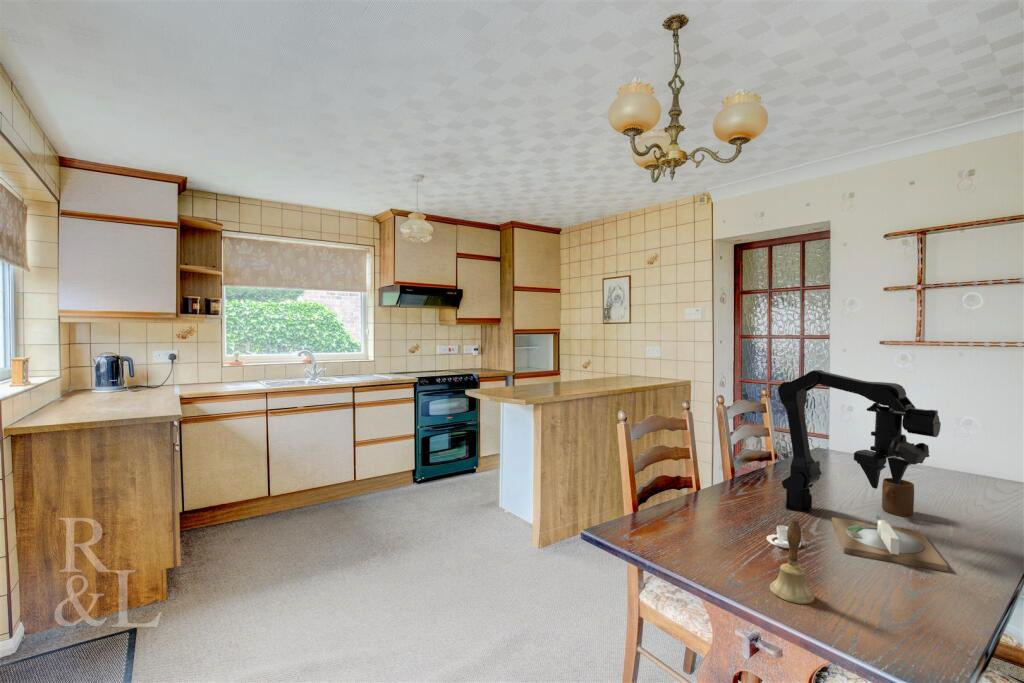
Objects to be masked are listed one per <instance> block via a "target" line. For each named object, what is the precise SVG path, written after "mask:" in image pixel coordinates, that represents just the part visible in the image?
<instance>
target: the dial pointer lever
mask: <svg viewBox="0 0 1024 683" xmlns="http://www.w3.org/2000/svg"><path fill="white" fill-rule="evenodd" d="M875 516H876V519H877V524H878V526H877V537H878V538H880V539H882V540H883V542H884V544H885V545H886V547H887V549H888V550H889V552H890V553H891V554H897V555H899V538H898V537H897V535H896V534H895V532H894V531H893V529H892V528H891V522H890V521H888V520H885V519H882V518H881V516H880V515H875Z"/></svg>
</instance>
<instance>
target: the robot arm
mask: <svg viewBox="0 0 1024 683" xmlns="http://www.w3.org/2000/svg"><path fill="white" fill-rule="evenodd" d="M818 385H820V386H824V387H828V388H831V389H836V390H840V391H844V392H848V393H853V394H855V395H859V396H861V397H864V398H865V399H867V400H869V401H870V402H873V404H872V405H871V406H869V407H867V408H866V411H867V412H874V413H875V422H874V425H875V426H874V431H871V432H870V436H872V437H874V442H873V443H874V445H871V446H870V448H869V450H868V449H860V450H857V451H855V452H854V453H853V461H855V462H857V464H858V465H859V466H860V467H861V469H862V471H863V473H864V475H865V477H866V478H867V480H868V482H869V484H870V486H871V488H873V489H876V490H877V489H878V486H879V481H880V476H881V471H882V470H884V469H885V468H886V467H887V465H886V463H887V462H888V466H889V472H890V474H891V478H892V479H893V482H894V484H897V485H899V483H900V481H901V480H903V477H904V474H905V473H906V470H907V468H908V467H909V466H911V465H918V464H923V463H924V461H925V460H926V458H929V457H930V451H929V449H930V448H929V444H926V443H925V442H919V443H917V444H915V442H913V443H910V442H908V441H907V436H906V434H902V433H903V431H902V429H904V430H905V431H906V432H907V433H908V434H913V435H918V436H919V435H920V436H925V437H932V438H938V436H939V434H940V432H941V425H942V424H941V421H940V416H939V414H938V413H939V411H938V410H936V409H924V408H923V409H921V408H917V407H916V406H915V405H914V404H913V403H912V400H910V399H909V397H908V396H907V392H906V389H905V388H904V387H903V385H900V384H898V383H895V382H884V381H867V380H862V379H857V378H854V377H853V378H852V377H849V376H845V375H841V374H835V373H832V372H827V371H824V370H821V369H814V370H810V371H809V372H808V373H806V374H804V375H802V376H799V377H797V378H795V379H793V380H791V381H785V382H782V383H780V385H779V386H778V388H777V393H778V397H779V400H780V403H781V404H782V406H783V407H784V409H785V410H786V416H787V422H788V429H789V430H788V431H789V435H790V436H789V437H790V443H791V449H792V450H791V451H792V458H791V459H792V460H791V462H790V463H791V464H790V471H789V473H790V474H789V476H788V477H786V478H785V479H783V480H782V481H781V485H782V488H783V489H784V490H785V500H784V506H785V509H786V510H793V511H800V512H805V513H810V512H811V509H812V507H813V495H812V493H811V490H810V489H811V488H813V486H814V484H815V483H817V482H818V481H819V480H820V478H821V475H822V474H823V473H822V471H821V469H820V468H821V466H820V465H821V464H820V460H814V459H813V457H812V454H811V449H810V442H809V435H808V429H807V421H806V415H805V407H806V405H807V404H806V403H807V398H808V396H807V394H808V391H810V390H812V389H814V388H816V387H818Z"/></svg>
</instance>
